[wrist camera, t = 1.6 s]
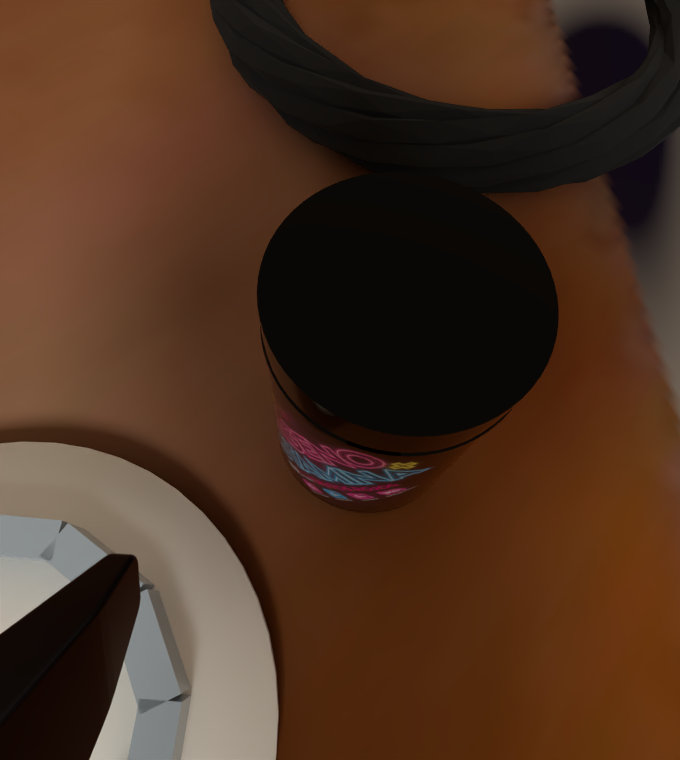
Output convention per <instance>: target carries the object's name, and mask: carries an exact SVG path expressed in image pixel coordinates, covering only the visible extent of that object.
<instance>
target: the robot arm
mask: <svg viewBox="0 0 680 760" xmlns="http://www.w3.org/2000/svg"><path fill="white" fill-rule="evenodd" d="M140 599H141V593H140V579H139V566H138V560H137V557H136V556H134V555H133V554H119V553H111V554H108V555H106V556H105V557H103V558H102V559H101V560H99V561H98V562H97V563H95V564H94V565H93V566H91V567H90V568H89V569H87V570H86V571H85V572H83V573H82V574H80V575H79V576H78V577H76V578H75V579H74V580H72V581H71V582H70V583H68V584H67V585H66V586H64V587H63V588H62V589H60V590H59V591H58V592H56V593H55V594H53V595H52V596H51V597H49V598H48V599H47V600H45V601H44V602H43V603H41V604H40V605H39V606H37V607H36V608H35V609H33V610H32V611H31V612H29V613H28V614H26V615H25V616H24V617H22V618H21V619H20V620H18V621H17V622H16V623H14V624H13V625H12V626H10V627H9V628H8V629H6V630H5V631H4V632H2V633H1V634H0V760H89V759H90V757H91V754H92V752H93V749H94V747H95V745H96V742H97V740H98V737H99V735H100V732H101V730H102V727H103V725H104V722H105V720H106V717H107V715H108V712H109V709H110V706H111V703H112V700H113V697H114V694H115V690H116V687H117V683H118V680H119V676H120V673H121V670H122V666H123V663H124V659H125V656H126V652H127V649H128V646H129V642H130V639H131V635H132V632H133V628H134V625H135V621H136V618H137V615H138V611H139V606H140Z"/></svg>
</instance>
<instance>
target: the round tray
mask: <svg viewBox="0 0 680 760" xmlns="http://www.w3.org/2000/svg"><path fill="white" fill-rule="evenodd" d="M111 553H119V554H133V555H134V556H136V557H137V560H138V566H139V579H140V593H141V599H140V606H139V611H138V615H137V618H136V621H135V625H134V628H133V632H132V635H131V639H130V642H129V646H128V649H127V652H126V656H125V659H124V663H123V666H122V670H121V673H120V676H119V680H118V683H117V687H116V690H115V694H114V697H113V700H112V703H111V706H110V709H109V712H108V715H107V717H106V720H105V722H104V725H103V727H102V730H101V732H100V735H99V737H98V740H97V742H96V745H95V747H94V749H93V752H92V754H91V757H90V759H89V760H276V755H277V740H278V721H279V703H278V687H277V671H276V665H275V660H274V654H273V649H272V643H271V638H270V633H269V630H268V626H267V623H266V620H265V617H264V614H263V611H262V607H261V604H260V601H259V598H258V596H257V594H256V592H255V590H254V587H253V585H252V583H251V581H250V579H249V577H248V574H247V572H246V570H245V568H244V566H243V565H242V563H241V562H240V560H239V558H238V557H237V555H236V554H235V552H234V551H233V549H232V547H231V546H230V544H229V543H228V541H227V540H226V538H225V537H224V536H223V535H222V534H221V533H220V531H219V530H218V529H217V528H216V527H215V526H214V524H213V523H212V522H211V521H210V520H209V519H208V517H207V516H206V515H205V514H204V513H203V512H202V511H201V510H200V509H199V508H197V507H196V506H195V505H194V504H193V503H192V502H191V501H189V500H188V499H187V498H186V497H185V496H184V495H183V494H181V493H180V492H179V491H178V490H177V489H176V488H174V487H173V486H171V485H169V484H168V483H166V482H165V481H163V480H162V479H160V478H159V477H157V476H156V475H154V474H153V473H151V472H149V471H148V470H145V469H143V468H141V467H139V466H137V465H135V464H132V463H130V462H128V461H126V460H124V459H122V458H119V457H116V456H113V455H110V454H106V453H103V452H100V451H97V450H93V449H90V448H85V447H79V446H73V445H67V444H61V443H49V442H12V443H0V634H1V633H2V632H4V631H5V630H6V629H8V628H9V627H10V626H12V625H13V624H14V623H16V622H17V621H18V620H20V619H21V618H22V617H24V616H25V615H26V614H28V613H29V612H31V611H32V610H33V609H35V608H36V607H37V606H39V605H40V604H41V603H43V602H44V601H45V600H47V599H48V598H49V597H51V596H52V595H53V594H55V593H56V592H58V591H59V590H60V589H62V588H63V587H64V586H66V585H67V584H68V583H70V582H71V581H72V580H74V579H75V578H76V577H78V576H79V575H80V574H82V573H83V572H85V571H86V570H87V569H89V568H90V567H91V566H93V565H94V564H95V563H97V562H98V561H99V560H101V559H102V558H103V557H105V556H106V555H108V554H111Z"/></svg>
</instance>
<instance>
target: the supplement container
mask: <svg viewBox="0 0 680 760" xmlns="http://www.w3.org/2000/svg"><path fill="white" fill-rule="evenodd" d="M257 304H258V312H259V318H260V328H261V340H262V346H263V352H264V356H265V359H266V363H267V366H268V369H269V376H270V383H271V389H272V396H273V403H274V410H275V416H276V423H277V430H278V436H279V442H280V447H281V450H282V453H283V456H284V458H285V461H286V463H287V465H288V467H289V468H290V470H291V472H292V473H293V475H294V476H295V477H296V479H297V480H298V481H299V482H300V483H301V484H302V485H303V486H304V487H305V488H306V489H307V490H308V491H309V492H310V493H312V494H313V495H314V496H316V497H317V498H319V499H320V500H322V501H324V502H326V503H328V504H330V505H332V506H335V507H337V508H340V509H344V510H347V511H353V512H359V513H376V512H383V511H388V510H392V509H396V508H398V507H401V506H403V505H406V504H408V503H409V502H411V501H413V500H415V499H416V498H418V497H419V496H420V495H422V494H423V493H424V492H425V491H426V490H428V489H429V488H430V487H431V486H432V485H433V484H434V483H435V482H436V481H437V480H438V479H439V478H440V477H441V476H442V475H443V474H444V473H445V472H446V471H447V470H448V469H449V468H450V467H451V466H452V465H453V464H454V463H455V462H456V461H457V460H458V459H459V458H460V457H461V456H462V455H463V454H464V453H465V452H466V451H467V450H468V449H469V448H470V447H471V446H472V445H473V444H474V443H475V442H476V441H477V440H478V439H479V438H480V437H482V436H483V435H485V434H486V433H488V432H489V431H490V430H491V429H493V428H494V427H495V426H496V425H497V424H498V423H499V422H501V421H502V419H503V418H504V417H505V416H506V415H507V414H508V413H509V412H510V411H511V410H512V408H513V407H514V406H515V405H516V404H517V403H518V402H519V401H520V400H521V399H522V398H523V397H524V396H525V395H526V394H527V393H528V392H529V391H530V389H531V388H532V387H533V386H534V385H535V383H536V382H537V380H538V379H539V378H540V376H541V375H542V373H543V371H544V369H545V367H546V366H547V364H548V361H549V359H550V356H551V354H552V351H553V348H554V344H555V341H556V336H557V329H558V300H557V294H556V289H555V284H554V281H553V278H552V275H551V272H550V269H549V267H548V265H547V263H546V260H545V258H544V256H543V255H542V253H541V251H540V249H539V248H538V246H537V245H536V243H535V242H534V240H533V239H532V238H531V236H530V235H529V234H528V233H527V231H526V230H525V229H524V228H523V227H522V226H521V224H520V223H518V222H517V221H516V220H515V219H514V218H513V217H512V216H511V215H510V214H509V213H508V212H506V211H505V210H504V209H503V208H501V207H500V206H499V205H497V204H496V203H494V202H493V201H492V200H490V199H489V198H487V197H485V196H483V195H482V194H480V193H478V192H476V191H474V190H472V189H470V188H468V187H466V186H463V185H461V184H458V183H455V182H453V181H450V180H447V179H443V178H439V177H436V176H431V175H425V174H419V173H410V172H381V173H373V174H366V175H362V176H357V177H353V178H350V179H347V180H343V181H340V182H338V183H335V184H333V185H331V186H328V187H326V188H325V189H323V190H321V191H319V192H317V193H315V194H314V195H312V196H311V197H309V198H308V199H307V200H305V201H304V202H303V203H301V204H300V205H299V206H298V207H297V208H295V209H294V210H293V211H292V212H291V213H290V214H289V215H288V216H287V217H286V219H285V220H284V221H283V222H282V224H281V225H280V226H279V227H278V229H277V230H276V232H275V234H274V235H273V237H272V238H271V240H270V242H269V244H268V246H267V249H266V251H265V253H264V256H263V259H262V262H261V266H260V271H259V276H258V285H257Z"/></svg>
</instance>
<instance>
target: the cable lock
mask: <svg viewBox="0 0 680 760" xmlns="http://www.w3.org/2000/svg"><path fill="white" fill-rule="evenodd" d="M210 4H211V10H212V15H213V20H214V22H215V24H216V26H217V28H218V30H219V32H220V34H221V36H222V38H223V40H224V42H225V44H226V46H227V48H228V49H229V52H230V55H231V59H232V63H233V65H234V67H235V68H236V69H237V71H238V72H239V73H240V75H241V76H242V77H243V78H244V80H245V81H246V82H247V84H248V85H249V86H250V87H251V88H252V89H254V90H255V91H256V92H258V93H259V94H260V95H262V96H263V97H264V98H266V99H267V100H268V101H269V102H270V103H271V105H272V106H273V107H274V108H275V109H276V111H277V112H278V113H279V114H280V115H281V116H282V118H283V119H284V120H285V121H286V122H287V124H288V125H290V126H291V127H293V128H294V129H295V130H297V131H298V132H300V133H301V134H303V135H304V136H306V137H307V138H309V139H310V140H312V141H313V142H316V143H319V144H321V145H324V146H327V147H329V148H331V149H332V150H334V151H336V152H338V153H339V154H341V155H343V156H345V157H347V158H348V159H350V160H352V161H354V162H356V163H357V164H359V165H361V166H363V167H365V168H366V169H368V170H371V171H376V172H410V173H419V174H425V175H431V176H436V177H439V178H443V179H447V180H450V181H453V182H455V183H458V184H461V185H463V186H466V187H468V188H470V189H472V190H474V191H476V192H478V193H506V192H538V191H542V190H545V189H549V188H552V187H556V186H559V185H563V184H569V183H579V182H586V181H588V180H591V179H593V178H595V177H597V176H600V175H602V174H604V173H607V172H609V171H611V170H614V169H616V168H618V167H620V166H623V165H625V164H627V163H629V162H632V161H634V160H637V159H639V158H641V157H642V156H643V155H644V154H646V153H647V152H648V151H650V150H651V149H652V148H654V147H655V146H656V145H658V144H659V143H660V142H662V141H663V140H664V139H665V138H666V137H668V136H669V135H671V134H672V133H673V132H675V130H676V129H677V128H678V127H680V0H645V4H646V10H647V14H648V19H649V24H650V35H649V48H648V54H647V56H646V58H645V60H644V61H643V63H642V64H641V66H640V68H639V69H638V70H637V71H636V72H635V73H634V74H633V75H631V76H629V77H627V78H625V79H623V80H621V81H619V82H617V83H615V84H613V85H612V86H609V87H607V88H605V89H603V90H602V91H600V92H598V93H596V94H594V95H592V96H588V97H585V98H582V99H578V100H575V101H572V102H569V103H565V104H562V105H559V106H556V107H552V108H549V109H483V108H476V107H468V106H461V105H455V104H448V103H442V102H436V101H430V100H426V99H423V98H420V97H417V96H414V95H412V94H409V93H406V92H403V91H400V90H398V89H395V88H392V87H389V86H387V85H384V84H381V83H378V82H376V81H373V80H370V79H367V78H364V77H363V76H362V75H360V74H359V73H358V72H356V71H355V70H353V69H352V68H351V67H349V66H348V65H347V64H345V63H344V62H342V61H341V60H340V59H338V58H337V57H336V56H334V55H333V54H331V53H330V52H329V51H327V50H326V49H324V48H323V47H322V46H320V45H319V44H318V43H316V42H315V41H313V40H312V39H311V38H309V37H308V36H307V35H305V33H304V32H303V31H302V29H301V28H300V26H299V25H298V24H297V22H296V21H295V20H294V18H293V17H292V16H291V14H290V13H289V11H288V10H287V9H286V7H285V6H284V3H283V0H210Z"/></svg>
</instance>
